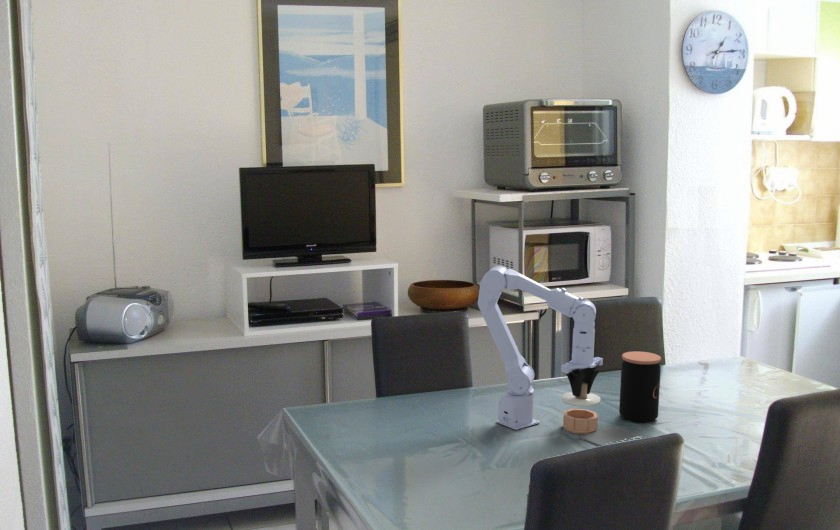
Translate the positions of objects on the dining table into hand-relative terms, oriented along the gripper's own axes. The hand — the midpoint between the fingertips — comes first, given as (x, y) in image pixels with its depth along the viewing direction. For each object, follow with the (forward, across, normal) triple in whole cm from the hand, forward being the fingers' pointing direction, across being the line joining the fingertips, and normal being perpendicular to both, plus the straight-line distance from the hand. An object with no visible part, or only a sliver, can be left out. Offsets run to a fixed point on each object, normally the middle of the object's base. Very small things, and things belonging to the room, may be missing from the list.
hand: (581, 394), depth 230 cm
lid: (+2, 0, 0) cm, 2 cm away
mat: (+10, +1, -11) cm, 14 cm away
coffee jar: (+10, +20, -4) cm, 23 cm away
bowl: (+10, 0, 0) cm, 10 cm away
